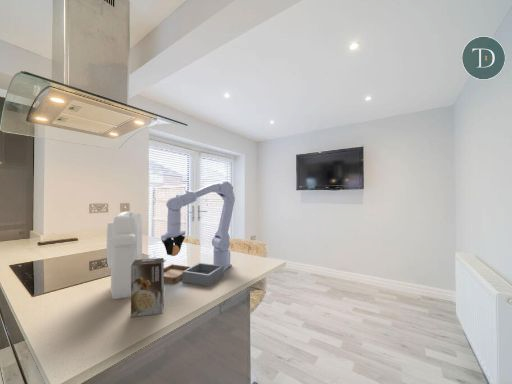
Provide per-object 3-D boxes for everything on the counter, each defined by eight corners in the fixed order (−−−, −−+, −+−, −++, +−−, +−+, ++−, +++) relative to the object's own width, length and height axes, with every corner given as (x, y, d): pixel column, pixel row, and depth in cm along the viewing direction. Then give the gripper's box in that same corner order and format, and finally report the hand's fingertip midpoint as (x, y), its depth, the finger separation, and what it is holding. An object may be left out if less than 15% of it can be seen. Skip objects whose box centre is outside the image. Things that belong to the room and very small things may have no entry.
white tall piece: (115, 278, 100) (116, 210, 101) (143, 275, 104) (144, 210, 104) (96, 307, 75) (97, 216, 75) (134, 301, 79) (135, 215, 79)
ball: (172, 253, 107) (172, 243, 107) (181, 254, 105) (181, 244, 105) (165, 256, 102) (165, 245, 102) (174, 257, 100) (174, 246, 101)
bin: (199, 272, 109) (199, 262, 109) (223, 275, 105) (223, 265, 105) (182, 282, 97) (182, 271, 97) (208, 286, 93) (209, 275, 93)
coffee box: (164, 304, 77) (165, 257, 77) (161, 314, 71) (162, 263, 71) (134, 307, 75) (135, 259, 75) (129, 318, 69) (130, 265, 69)
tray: (172, 269, 113) (172, 264, 113) (194, 272, 109) (194, 267, 109) (149, 279, 99) (149, 274, 99) (173, 284, 95) (173, 278, 95)
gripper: (177, 221, 112) (176, 248, 112) (155, 225, 98) (154, 256, 98) (189, 222, 110) (188, 250, 110) (168, 226, 96) (168, 258, 96)
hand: (173, 253), depth 104 cm, fingers closed on ball, 5 cm apart
